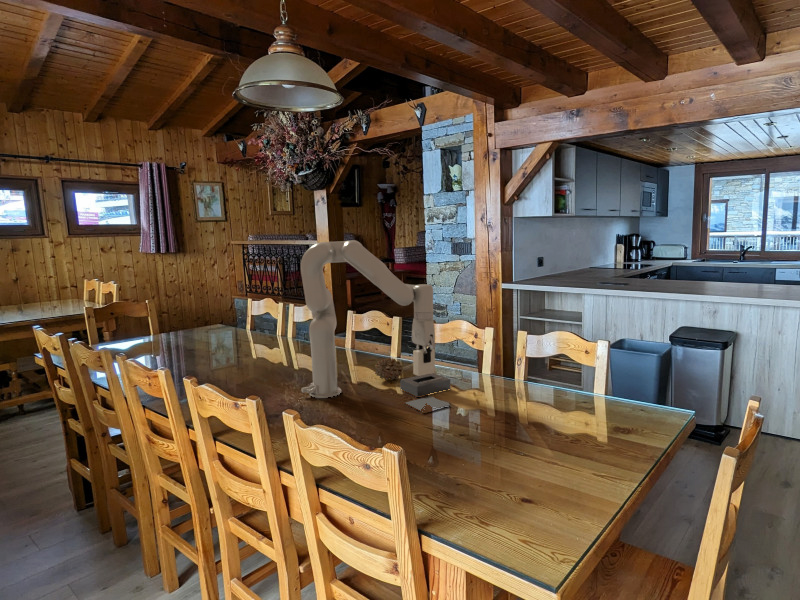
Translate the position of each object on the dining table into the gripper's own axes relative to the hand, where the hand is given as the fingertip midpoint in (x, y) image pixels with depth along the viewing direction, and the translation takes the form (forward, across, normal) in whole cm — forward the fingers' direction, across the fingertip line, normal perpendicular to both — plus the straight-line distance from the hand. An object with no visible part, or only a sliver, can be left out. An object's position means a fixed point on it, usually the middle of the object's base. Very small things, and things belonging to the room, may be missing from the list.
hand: (424, 360), depth 199 cm
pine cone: (+12, -21, 0) cm, 24 cm away
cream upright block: (+5, 0, 0) cm, 5 cm away
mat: (+12, +15, -10) cm, 22 cm away
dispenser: (+12, 0, 0) cm, 12 cm away
